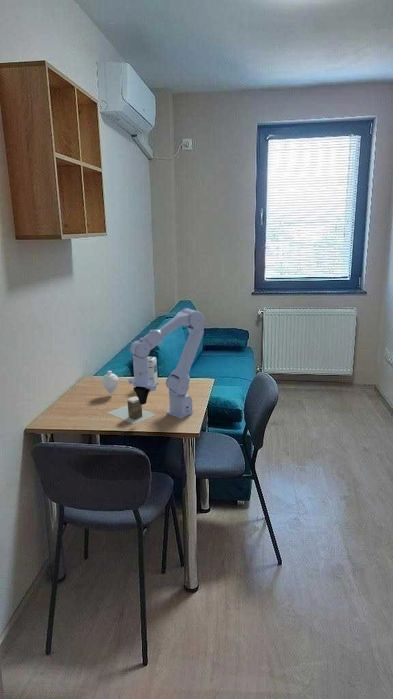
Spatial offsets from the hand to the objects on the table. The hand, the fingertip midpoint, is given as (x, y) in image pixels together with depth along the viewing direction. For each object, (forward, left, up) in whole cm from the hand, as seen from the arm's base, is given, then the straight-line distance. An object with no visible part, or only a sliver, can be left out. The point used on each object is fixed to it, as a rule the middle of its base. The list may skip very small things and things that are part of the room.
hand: (143, 403), depth 182 cm
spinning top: (+35, -9, -8) cm, 37 cm away
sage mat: (+10, -1, -8) cm, 12 cm away
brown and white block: (+6, 0, -7) cm, 9 cm away
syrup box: (+30, -29, -8) cm, 42 cm away
